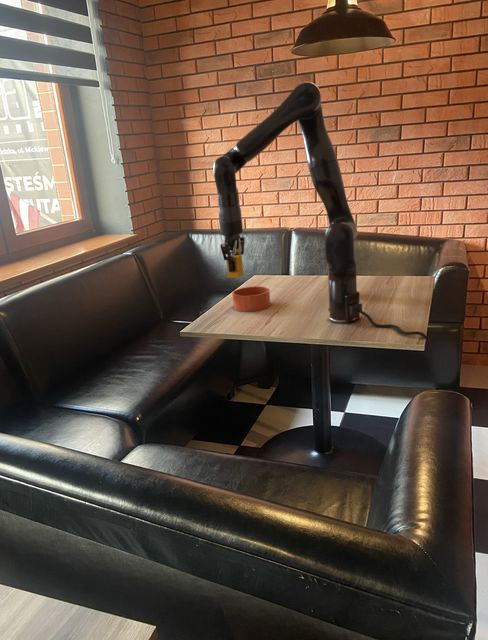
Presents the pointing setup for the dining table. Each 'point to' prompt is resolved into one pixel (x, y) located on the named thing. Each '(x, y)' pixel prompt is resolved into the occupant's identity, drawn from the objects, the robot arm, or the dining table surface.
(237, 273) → the sponge
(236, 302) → the crock
